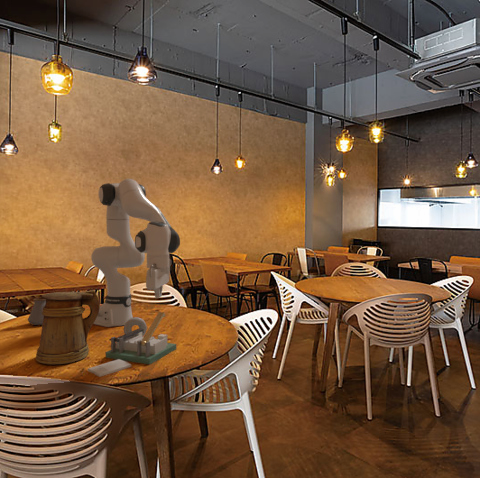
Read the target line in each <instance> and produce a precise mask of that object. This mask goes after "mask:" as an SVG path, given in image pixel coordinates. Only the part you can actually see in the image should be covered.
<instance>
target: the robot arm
mask: <svg viewBox="0 0 480 478" xmlns="http://www.w3.org/2000/svg"><path fill="white" fill-rule="evenodd" d="M98 199H99V202H100V203H101V205H103V206H107V207H106V215H105V220H106V235H107V236H108V237H109V238H110V239H113V240H115V241H117V242H118V243H119V244H120V245H117V246H115V245H113V246H111V245H110V246H108V245H107V246H106V245H105V246H100V247H95V248H94V250H93V251H92V253H91V256H90V257H91V258H90V259H91V262H92V264H93V266H94V267H95V268H97V269H98V270H100V271H101V272H102V274H103V276H104V277H105V280H106V286H107V287H106V288H107V295H106V296H103V298H102V299H103V300H104V303H102V305H100V309H99V313H98V316H97V318H96V320H95V322H94V323H93V325H96V326H101V327H104V328H105V327H106V328H111V327H120V326H124V325H125V323H126V322H127V321H128V320H129V319H131V318H134V317H133V311H132V294H131V280H130V278H129V277H128V276H127V275H125V274H122V273H120V272H119V271H118V269H121V268H122V269H123V268H125V269H126V268H129V269H130V268H135V267H140V266H141V265H143V264H144V262H145V258H146V268H148V269H147V270H146V278H145V280H146V281H145V288H146V290H147V291H148V290H151V291H152V290H153V292H154V297H155V299H159V298H161V297H162V293H163V289H164V288H163V287H164V286H165V285H166V284H168V283H169V282H170V275H171V265H172V259H170V254H174V253H175V252H176V251H177V250H178V249H179V247H180V245H181V238H180V235H179V234H178V232H177V231H176V230H175V229H174V228H173V227H172V225H171V224H170V223H169V221H168V220H167V218H166V217H165V215H164V213H163V212H162V211H161V209H160V208H159V207H158V206H157V205H155V204H154V203H152V202H151V201H150V200H149V199H148V197H147V192H146V188H145V187H144V185H143V184H141V183H140V184H139V182H138V181H137V180H135V179H133V178H125V179H123V180H121V181H120V182H118V183H117V182H114V183H108V182H107V183H104V184H103V183H102V184H101V186H100V187H99V190H98ZM130 217H132V218H134V219H141V220H144V221H148V223H147V226H146V227H145V229H143V230H140V231H139V232H138V233H136V235H135V238H134V239H133V237H132V234H131V225H130Z"/></svg>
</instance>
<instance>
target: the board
mask: <svg viewBox="0 0 480 478" xmlns="http://www.w3.org/2000/svg"><path fill="white" fill-rule="evenodd" d="M114 338H116V336H112V337H110V350H108V351H105V358H106V359H107V358H108V359H113V360H118V359H120V360H123V361H125V362H131V363H139V364H144V365H152V364H153V363H155V362H157V361H158V360H160V359H161V358H163V357H165V356H167V355H168V354H170V353H172V352H174V351H176V350H177V344H176V343H173V342H172V343H171V342H168V334H163V333H160V334H159V335H157V338H155V336H151V338H150V340H149V341H148V342H146V346H143V345H140V342H141V341H142V339H143V338H144V336H143V337H142V332H140V333H138V334H135V335H133V336H131V337H129V338H126V339H124V338H120V339H119V342H115V341H114Z"/></svg>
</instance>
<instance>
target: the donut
mask: <svg viewBox="0 0 480 478" xmlns="http://www.w3.org/2000/svg"><path fill="white" fill-rule="evenodd" d="M134 326H138V329H144V333H143V334H142V337H144V336H145V334H146V333H147V331H148V327H147V322H145V320H144V319H143V318H140V317H138V316H137V317H136V316H135V317H133V318H131V319H129V320H128V321H127V322H126V323H125V325H123V333H124V334H127V333H129V332H131V331H133V330H132V328H133V327H134ZM124 334H123V335H124Z"/></svg>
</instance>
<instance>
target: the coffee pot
mask: <svg viewBox="0 0 480 478" xmlns="http://www.w3.org/2000/svg"><path fill="white" fill-rule="evenodd" d="M70 292H73V291H70ZM33 302H34V303H33V307H32V309H31V310H30V311H31V312H30V313H29V315H28V318H27V321H28V323H29V324H30V325H32V324H33V325H42V324H43V317H44V315H42V312H43V307H44V306H45V304H46V299H43V298H41V297H36V298H33ZM33 325H32V326H33Z"/></svg>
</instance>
